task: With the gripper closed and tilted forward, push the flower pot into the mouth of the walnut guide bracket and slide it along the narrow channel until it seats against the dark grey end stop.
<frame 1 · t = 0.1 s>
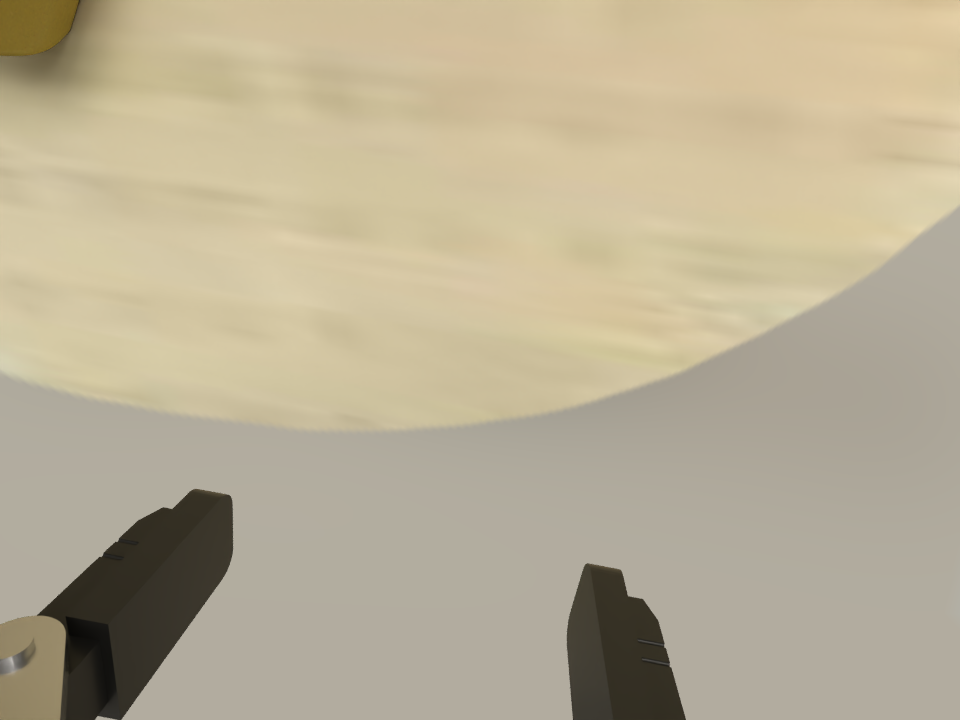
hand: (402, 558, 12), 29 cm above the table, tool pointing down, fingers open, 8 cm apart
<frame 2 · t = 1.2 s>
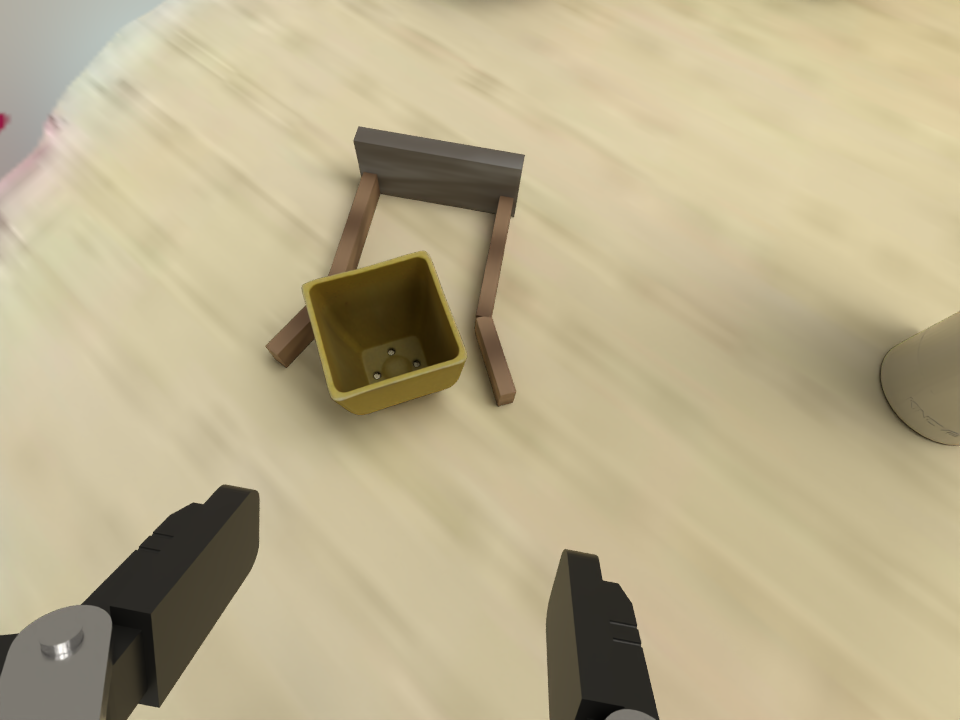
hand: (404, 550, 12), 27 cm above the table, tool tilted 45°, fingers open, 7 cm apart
flower pot: (396, 372, 43), on the table
guide bracket: (414, 296, 45), on the table
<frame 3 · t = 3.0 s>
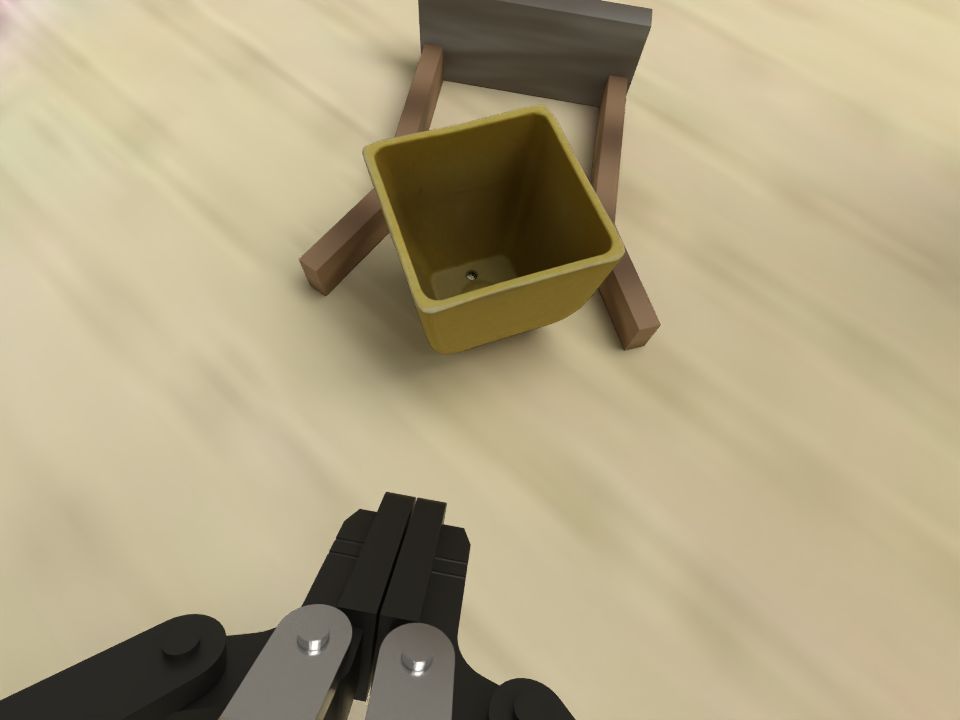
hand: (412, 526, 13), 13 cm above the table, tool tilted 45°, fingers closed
flower pot: (478, 305, 30), on the table
guide bracket: (498, 206, 33), on the table
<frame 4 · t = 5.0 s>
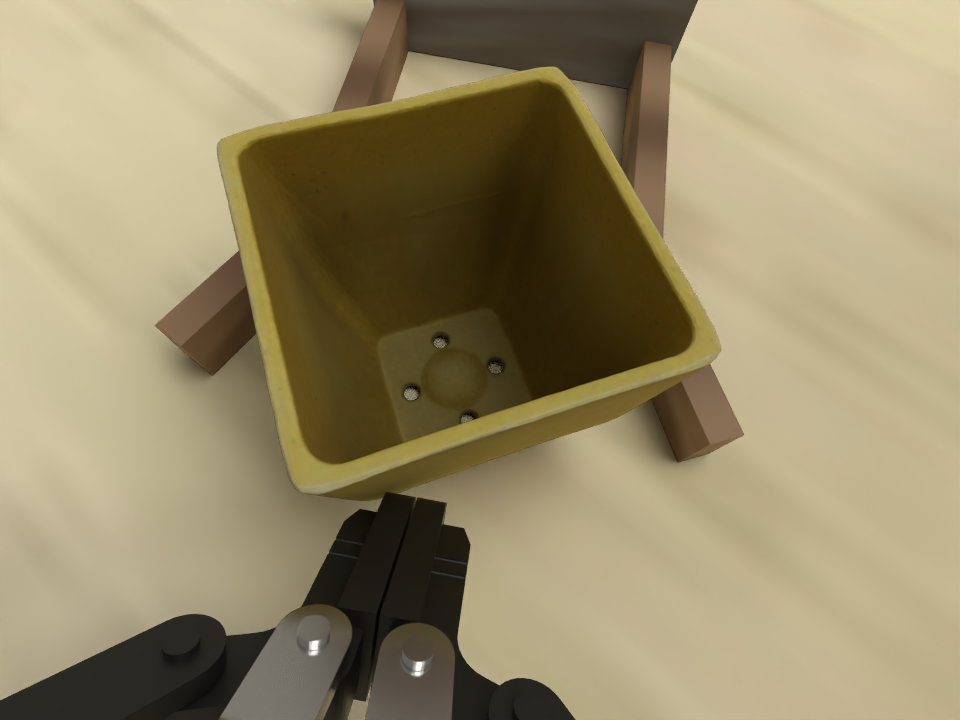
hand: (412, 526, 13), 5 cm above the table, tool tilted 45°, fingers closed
flower pot: (450, 386, 20), on the table, touching gripper
guide bracket: (483, 232, 22), on the table
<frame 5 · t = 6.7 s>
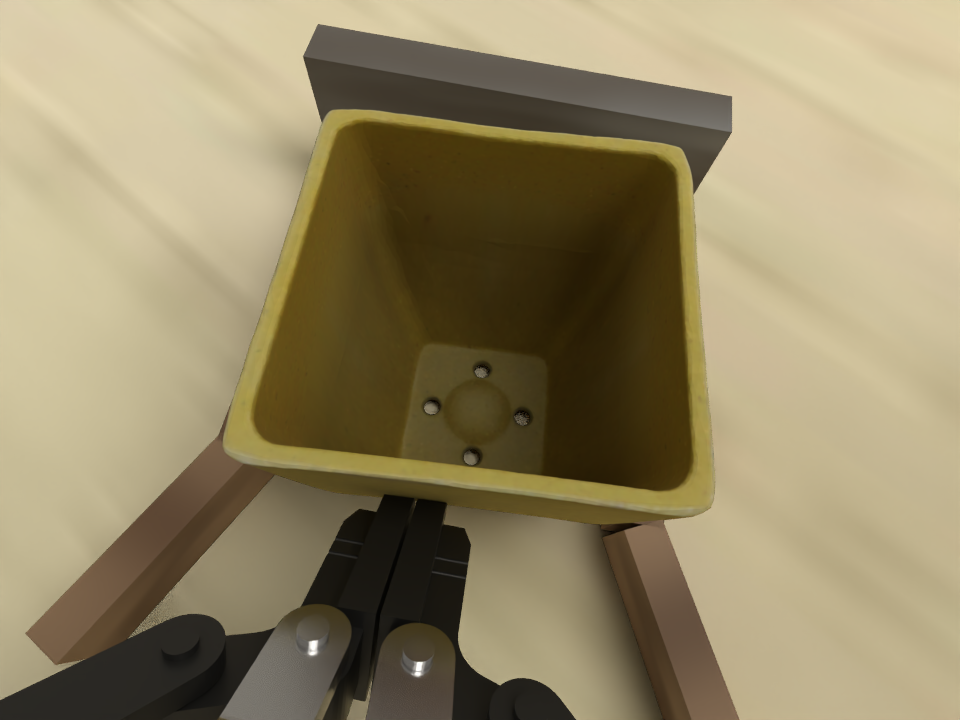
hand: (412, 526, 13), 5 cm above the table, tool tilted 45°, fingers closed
flower pot: (472, 417, 19), on the table, touching gripper
guide bracket: (451, 439, 19), on the table
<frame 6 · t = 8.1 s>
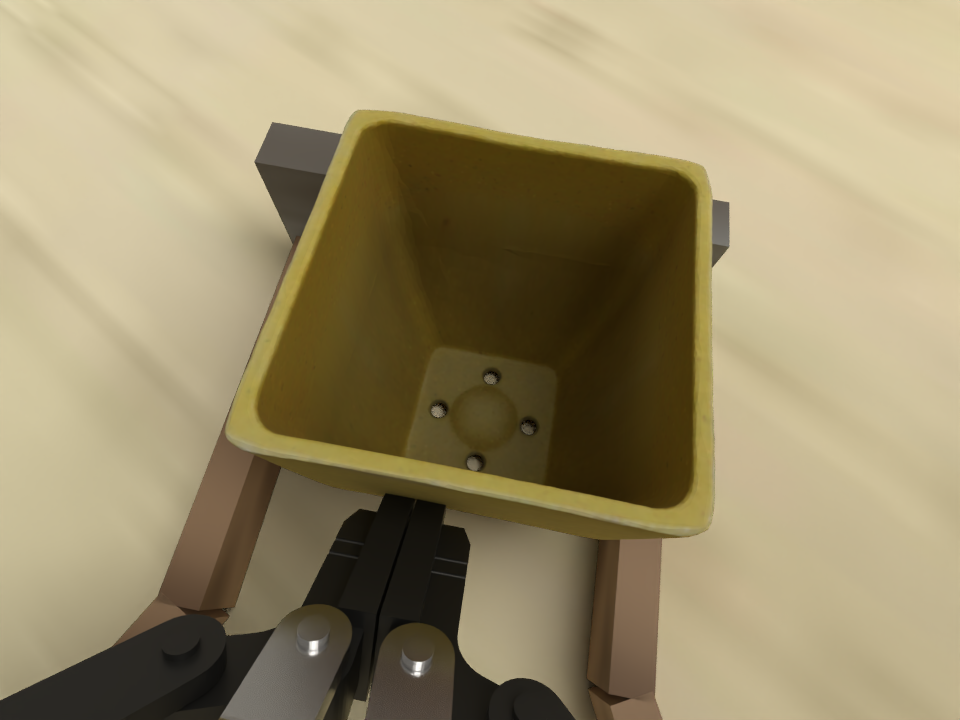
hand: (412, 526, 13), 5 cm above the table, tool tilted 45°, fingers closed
flower pot: (478, 423, 19), on the table, touching gripper
guide bracket: (423, 573, 17), on the table
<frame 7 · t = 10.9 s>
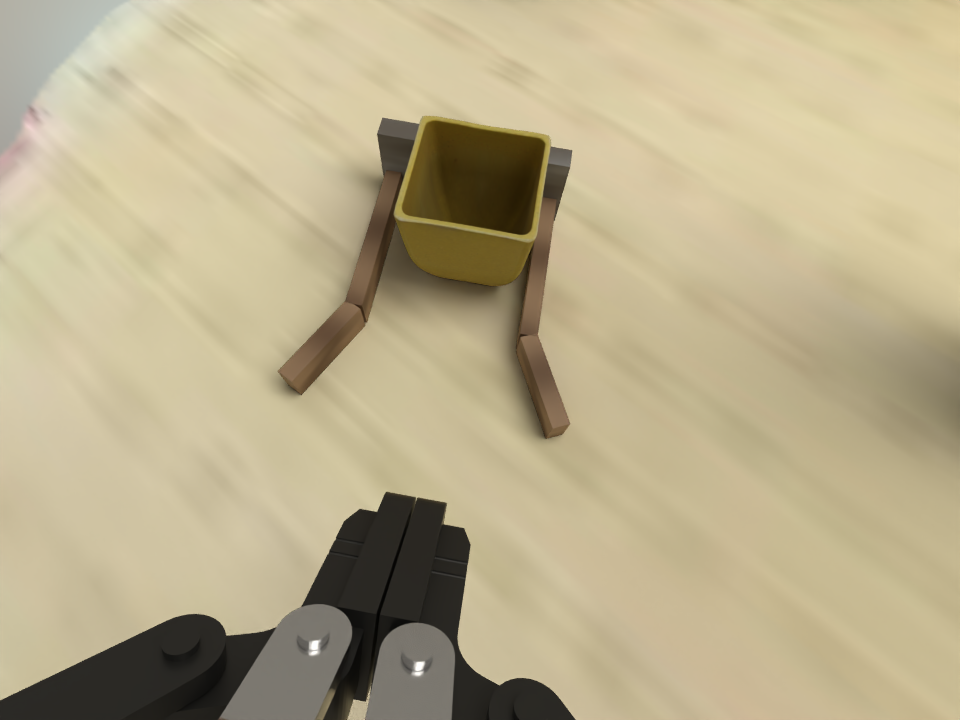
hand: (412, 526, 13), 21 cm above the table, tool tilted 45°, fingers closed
flower pot: (470, 257, 42), on the table
guide bracket: (446, 311, 40), on the table
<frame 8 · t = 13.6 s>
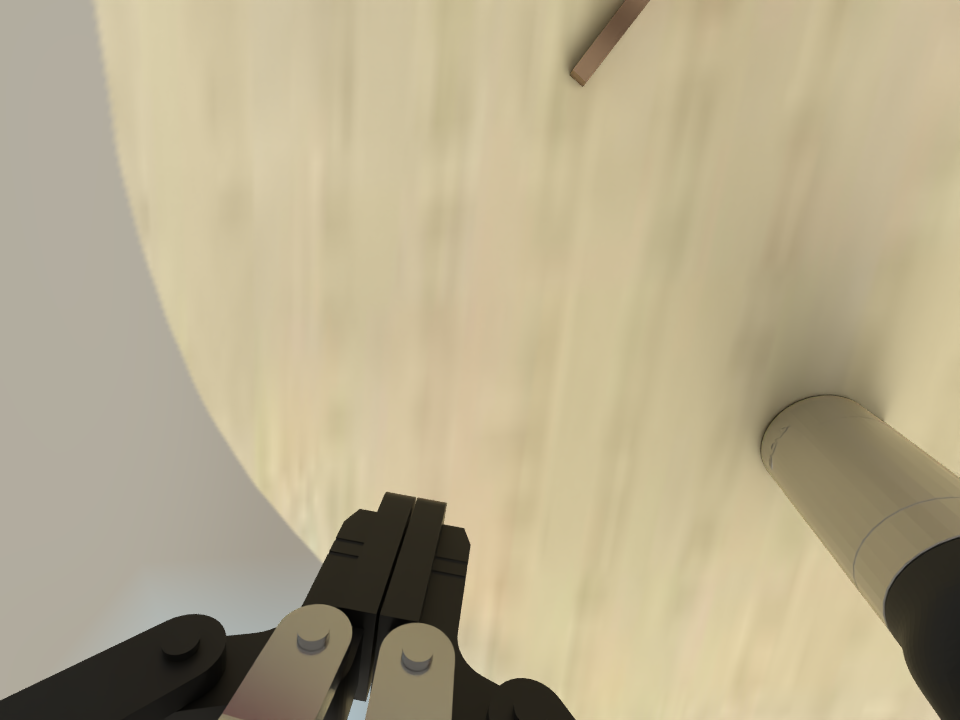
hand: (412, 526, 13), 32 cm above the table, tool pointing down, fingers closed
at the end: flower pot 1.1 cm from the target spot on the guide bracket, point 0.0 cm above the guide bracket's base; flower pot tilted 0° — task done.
